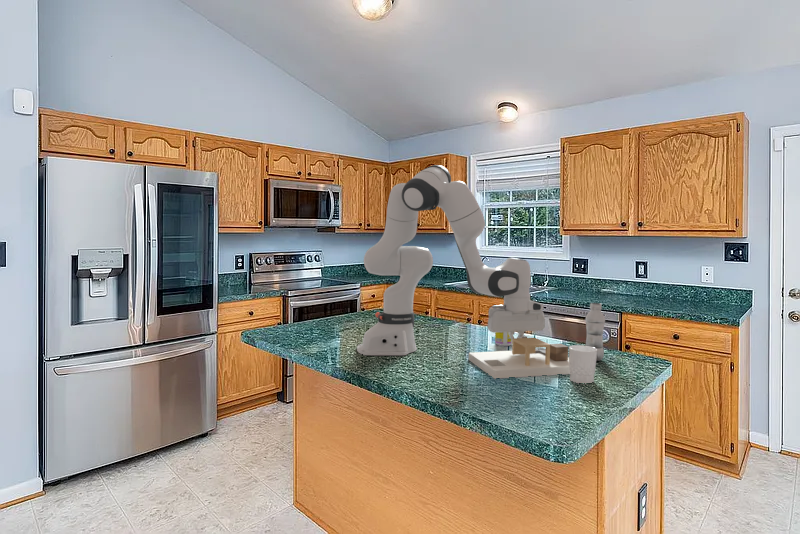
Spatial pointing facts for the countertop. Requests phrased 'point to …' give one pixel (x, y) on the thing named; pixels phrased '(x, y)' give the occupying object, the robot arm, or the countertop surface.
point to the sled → (555, 351)
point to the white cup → (582, 363)
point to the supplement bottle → (502, 339)
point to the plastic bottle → (595, 329)
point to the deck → (520, 360)
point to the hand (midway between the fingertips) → (515, 343)
